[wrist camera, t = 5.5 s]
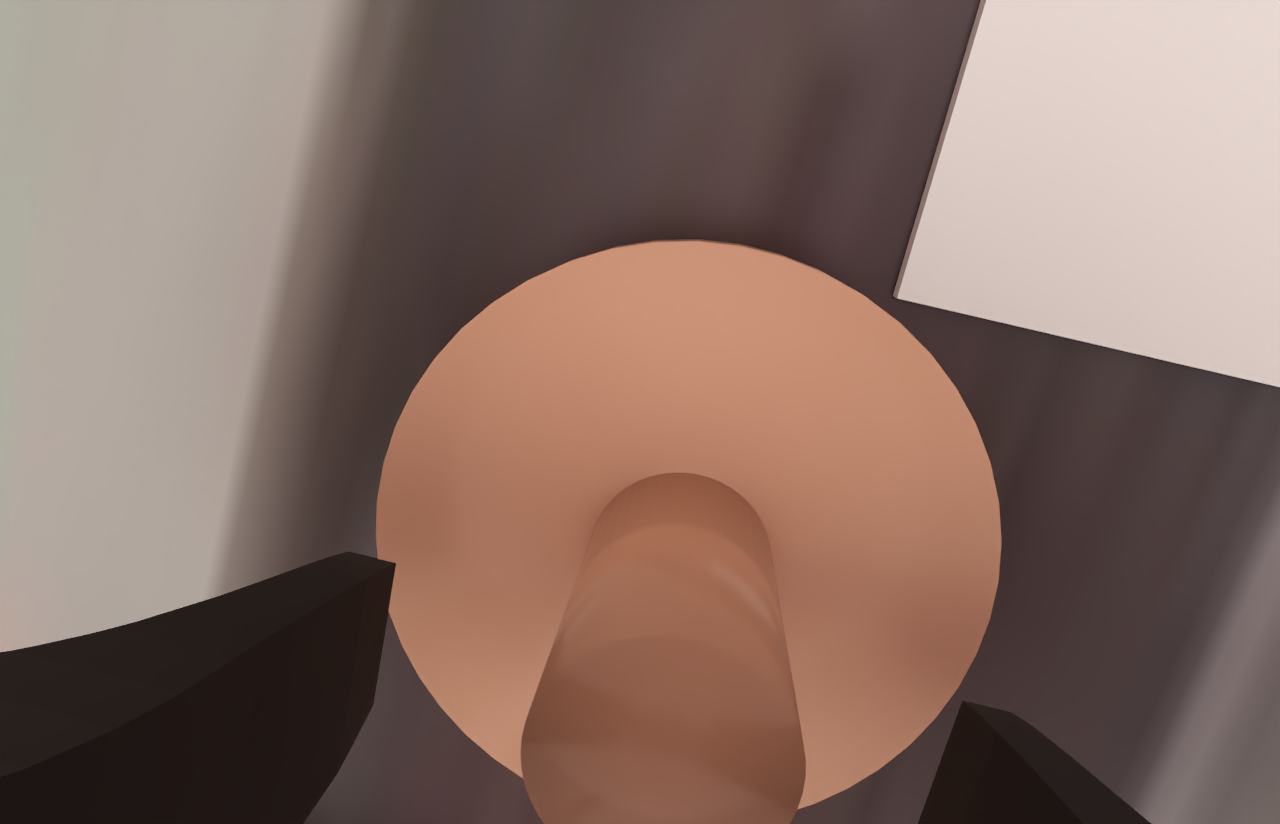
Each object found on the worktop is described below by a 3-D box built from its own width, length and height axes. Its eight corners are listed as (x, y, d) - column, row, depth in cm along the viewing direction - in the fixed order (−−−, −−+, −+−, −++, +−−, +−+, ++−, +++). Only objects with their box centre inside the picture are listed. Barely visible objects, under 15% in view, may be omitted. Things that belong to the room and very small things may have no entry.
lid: (1081, 351, 13) (1380, 474, 7) (854, 853, 15) (939, 1248, 10) (478, 157, 13) (291, 123, 7) (344, 689, 15) (124, 983, 10)
